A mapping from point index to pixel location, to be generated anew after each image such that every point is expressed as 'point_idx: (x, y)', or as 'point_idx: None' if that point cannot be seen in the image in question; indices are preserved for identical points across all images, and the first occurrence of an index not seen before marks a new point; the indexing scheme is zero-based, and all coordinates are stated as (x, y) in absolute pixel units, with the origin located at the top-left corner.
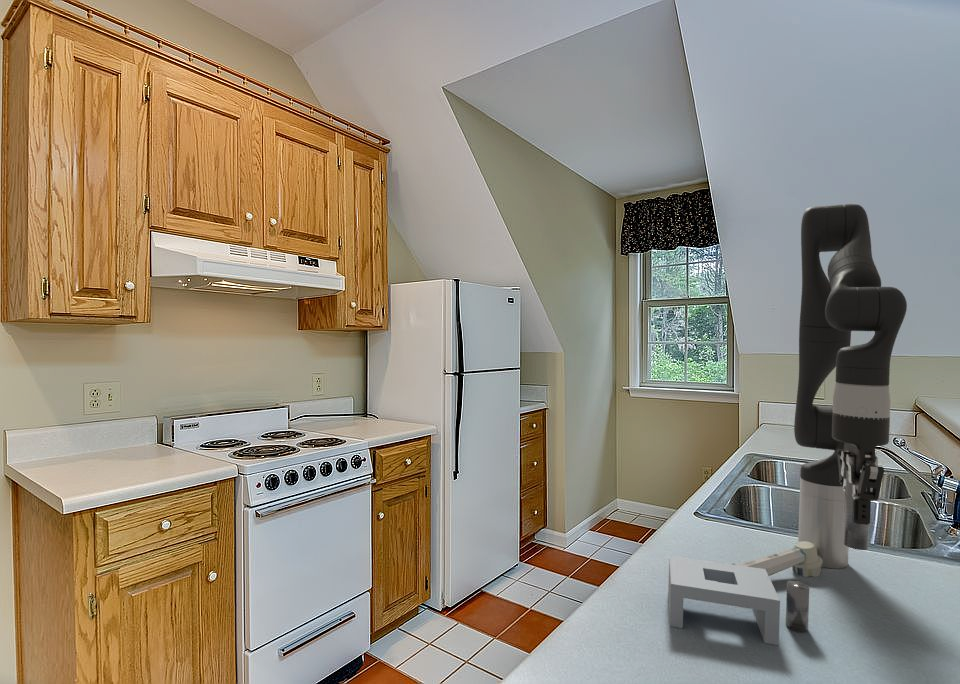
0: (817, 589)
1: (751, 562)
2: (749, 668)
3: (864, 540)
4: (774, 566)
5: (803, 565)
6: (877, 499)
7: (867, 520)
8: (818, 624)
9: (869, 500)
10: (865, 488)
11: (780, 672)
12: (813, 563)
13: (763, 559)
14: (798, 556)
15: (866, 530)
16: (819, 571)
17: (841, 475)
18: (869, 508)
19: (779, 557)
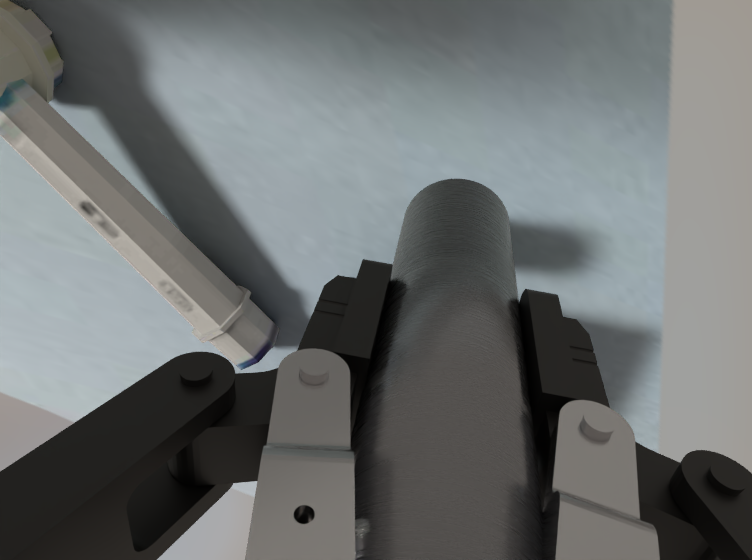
0: (156, 67)
1: (171, 292)
2: (634, 397)
3: (510, 239)
4: (147, 218)
5: (47, 87)
6: (745, 471)
7: (582, 333)
8: (407, 171)
9: (639, 451)
10: (541, 498)
11: (650, 349)
12: (17, 46)
13: (136, 254)
14: (40, 120)
15: (512, 259)
16: (20, 11)
17: (191, 524)
18: (567, 362)
19: (97, 200)
